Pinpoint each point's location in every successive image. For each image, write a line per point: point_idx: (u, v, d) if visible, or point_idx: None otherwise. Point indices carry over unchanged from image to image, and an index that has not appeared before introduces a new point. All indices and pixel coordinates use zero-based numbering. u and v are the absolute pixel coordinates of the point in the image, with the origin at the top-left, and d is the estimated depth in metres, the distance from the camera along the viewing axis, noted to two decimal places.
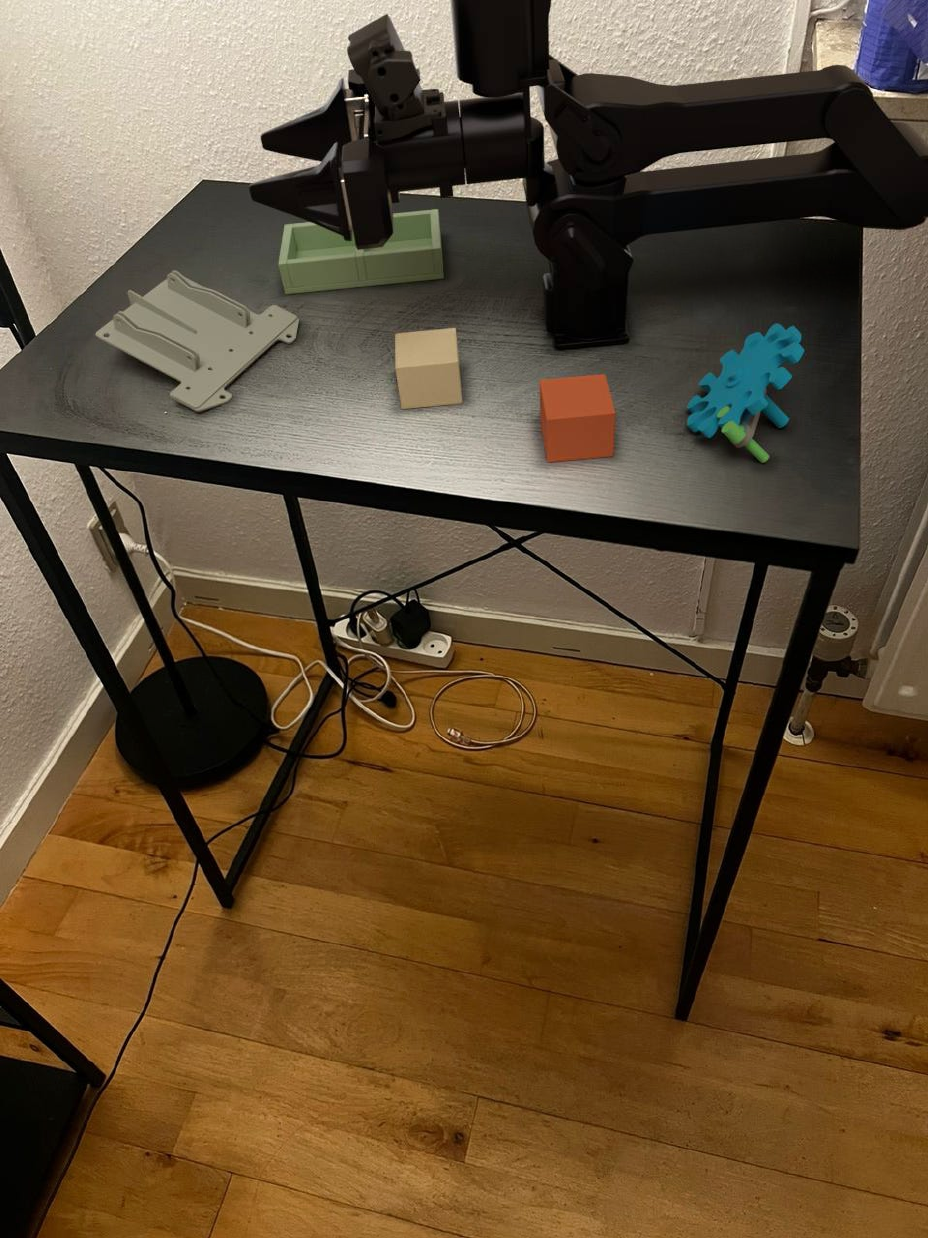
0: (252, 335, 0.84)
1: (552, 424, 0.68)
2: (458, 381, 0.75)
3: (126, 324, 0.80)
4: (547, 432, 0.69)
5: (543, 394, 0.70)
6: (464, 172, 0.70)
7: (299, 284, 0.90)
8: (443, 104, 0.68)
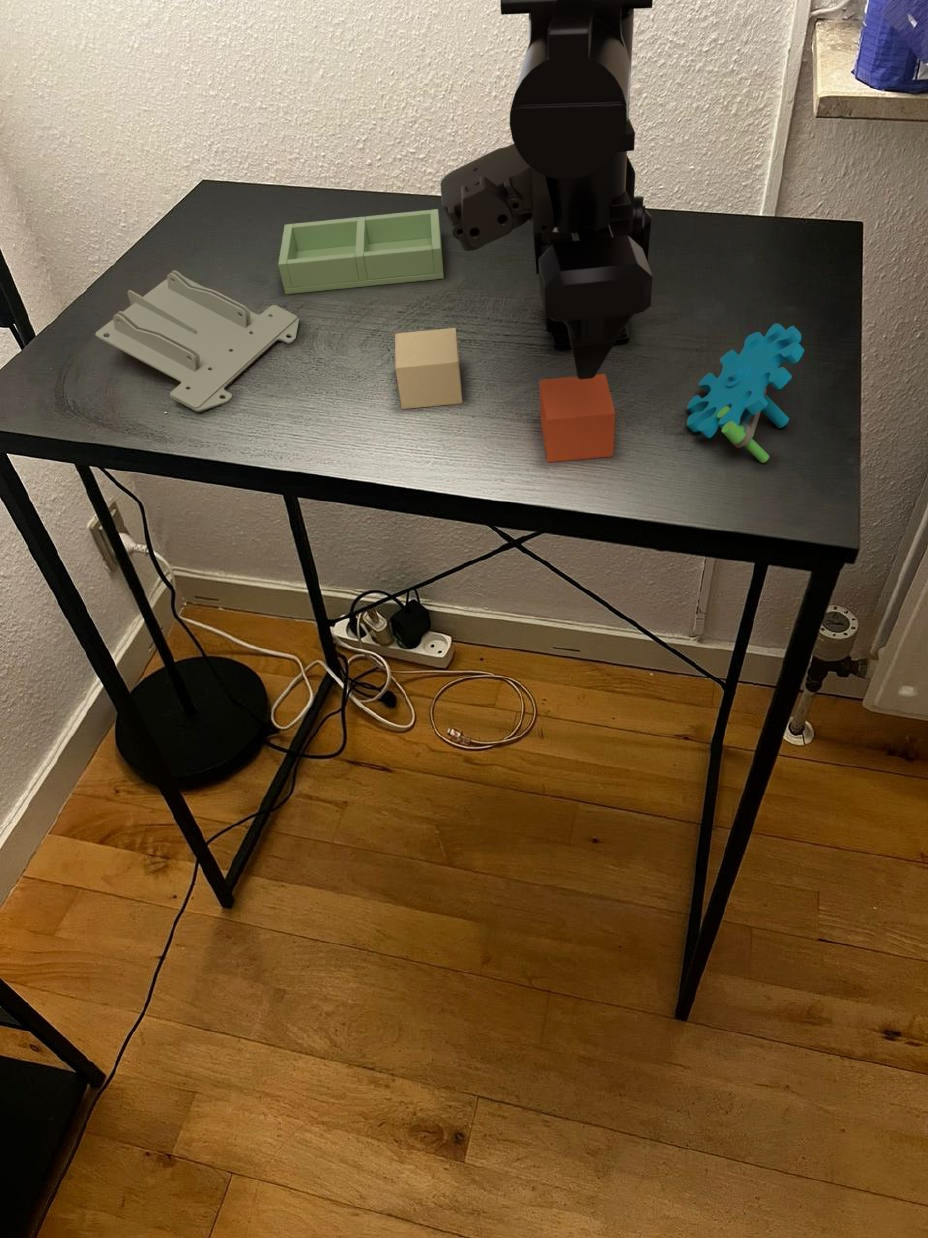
0: (252, 335, 0.84)
1: (552, 424, 0.68)
2: (458, 381, 0.75)
3: (126, 324, 0.80)
4: (547, 432, 0.69)
5: (543, 394, 0.70)
6: None
7: (299, 284, 0.90)
8: None
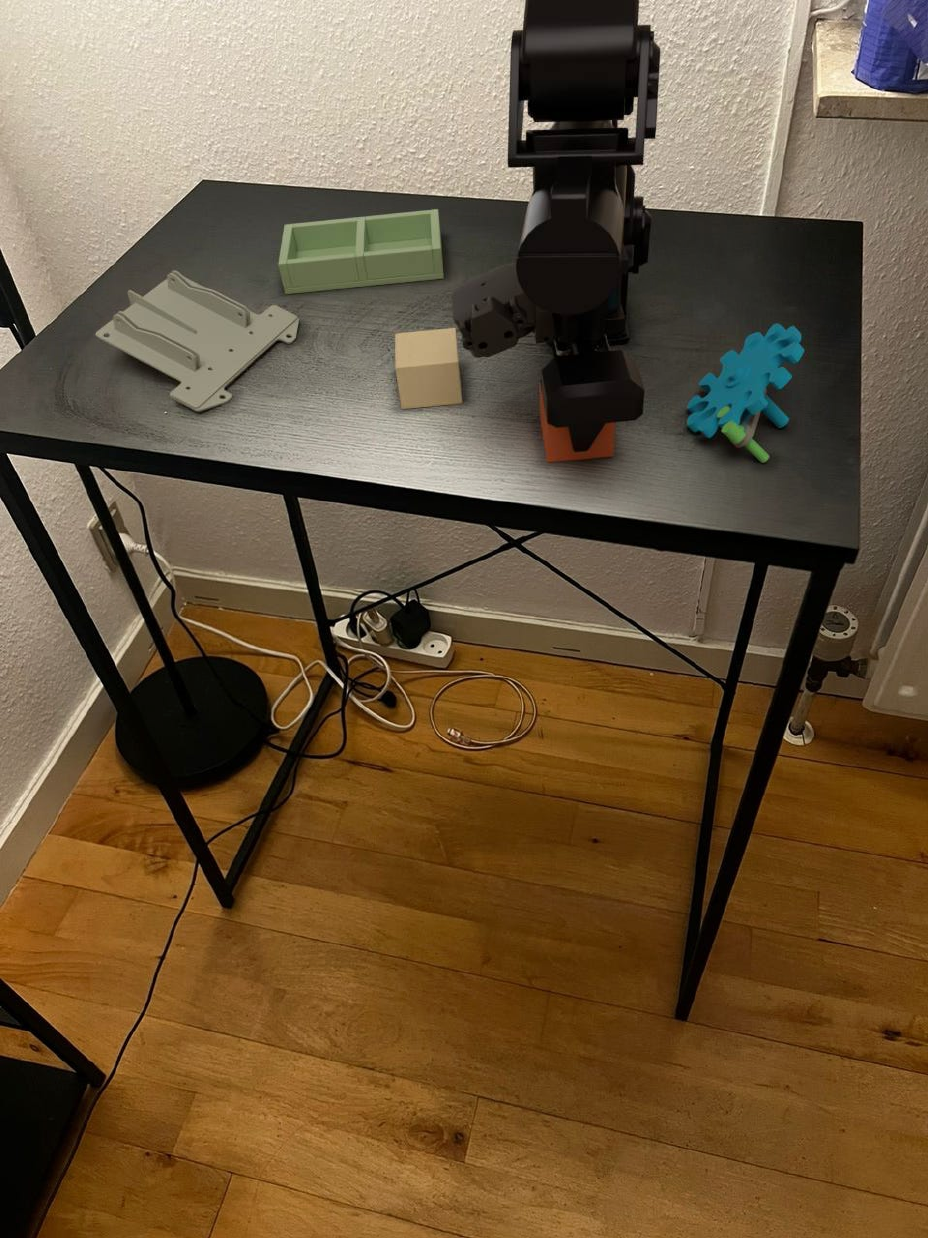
0: (252, 335, 0.84)
1: None
2: (458, 381, 0.75)
3: (126, 324, 0.80)
4: (547, 432, 0.69)
5: None
6: None
7: (299, 284, 0.90)
8: None
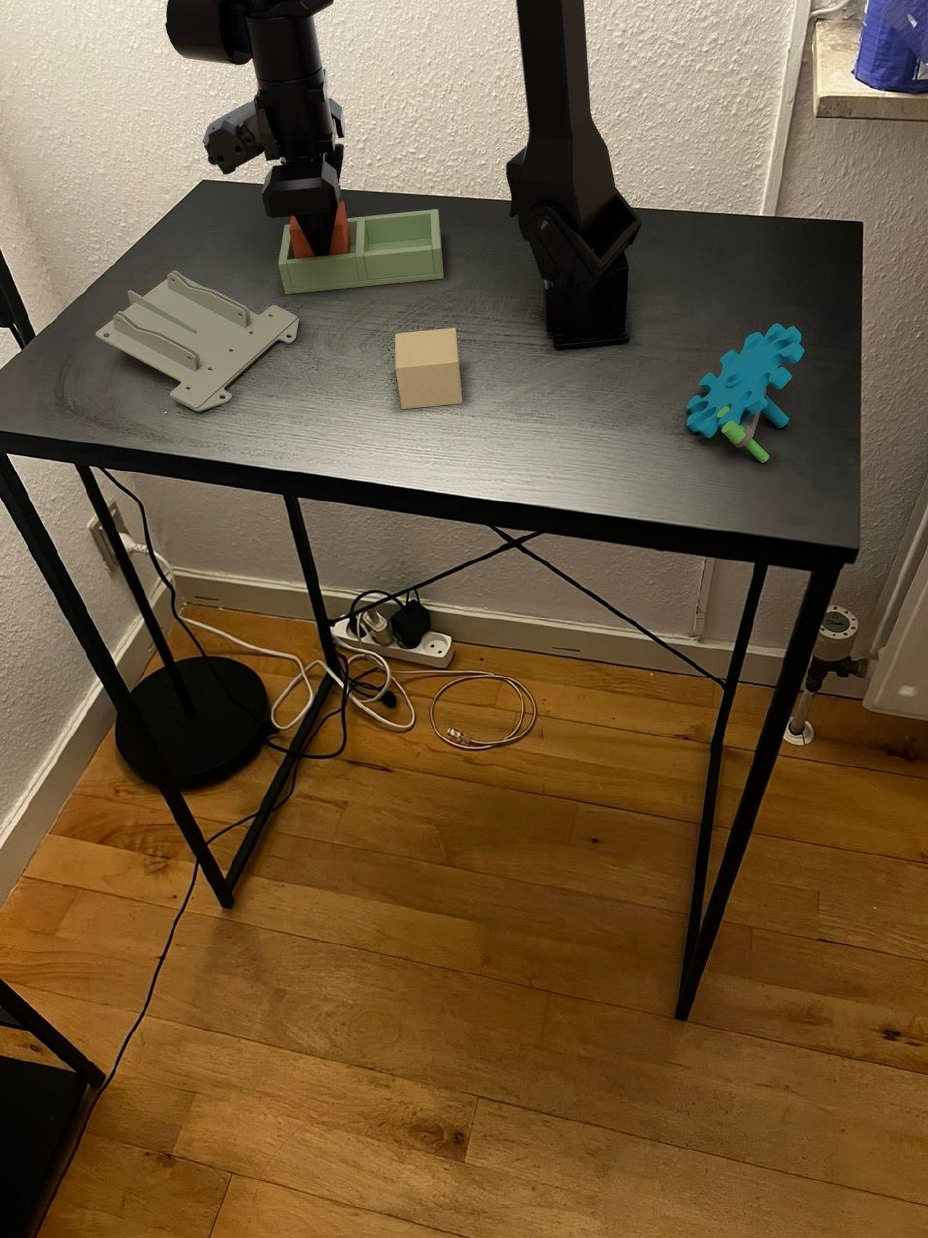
0: (252, 335, 0.84)
1: (294, 234, 0.88)
2: (458, 381, 0.75)
3: (126, 324, 0.80)
4: (292, 242, 0.89)
5: None
6: (299, 79, 0.78)
7: (299, 284, 0.90)
8: (258, 87, 0.81)
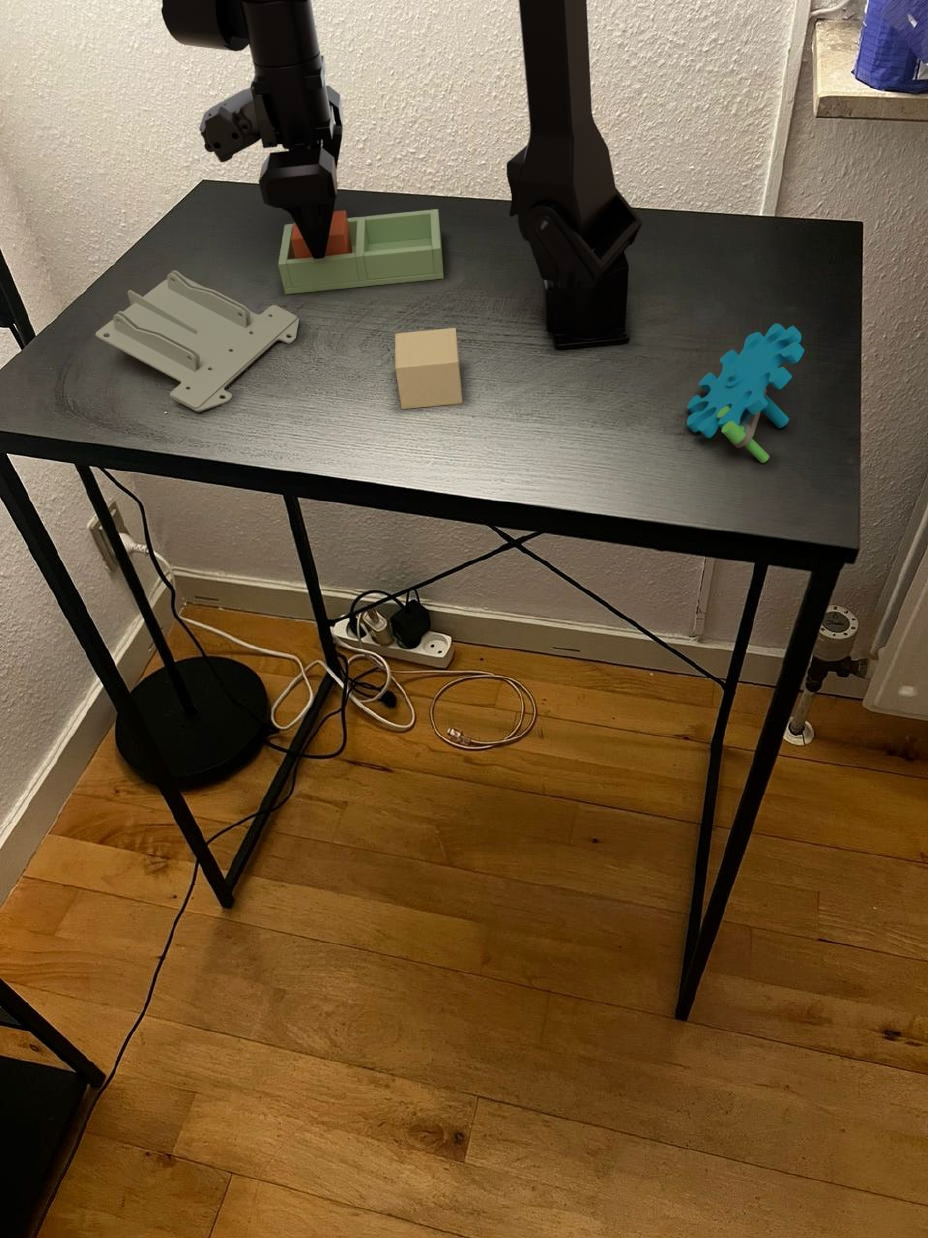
0: (252, 335, 0.84)
1: (296, 243, 0.89)
2: (458, 381, 0.75)
3: (126, 324, 0.80)
4: (294, 251, 0.89)
5: (294, 224, 0.90)
6: (297, 65, 0.77)
7: (299, 284, 0.90)
8: (255, 73, 0.80)
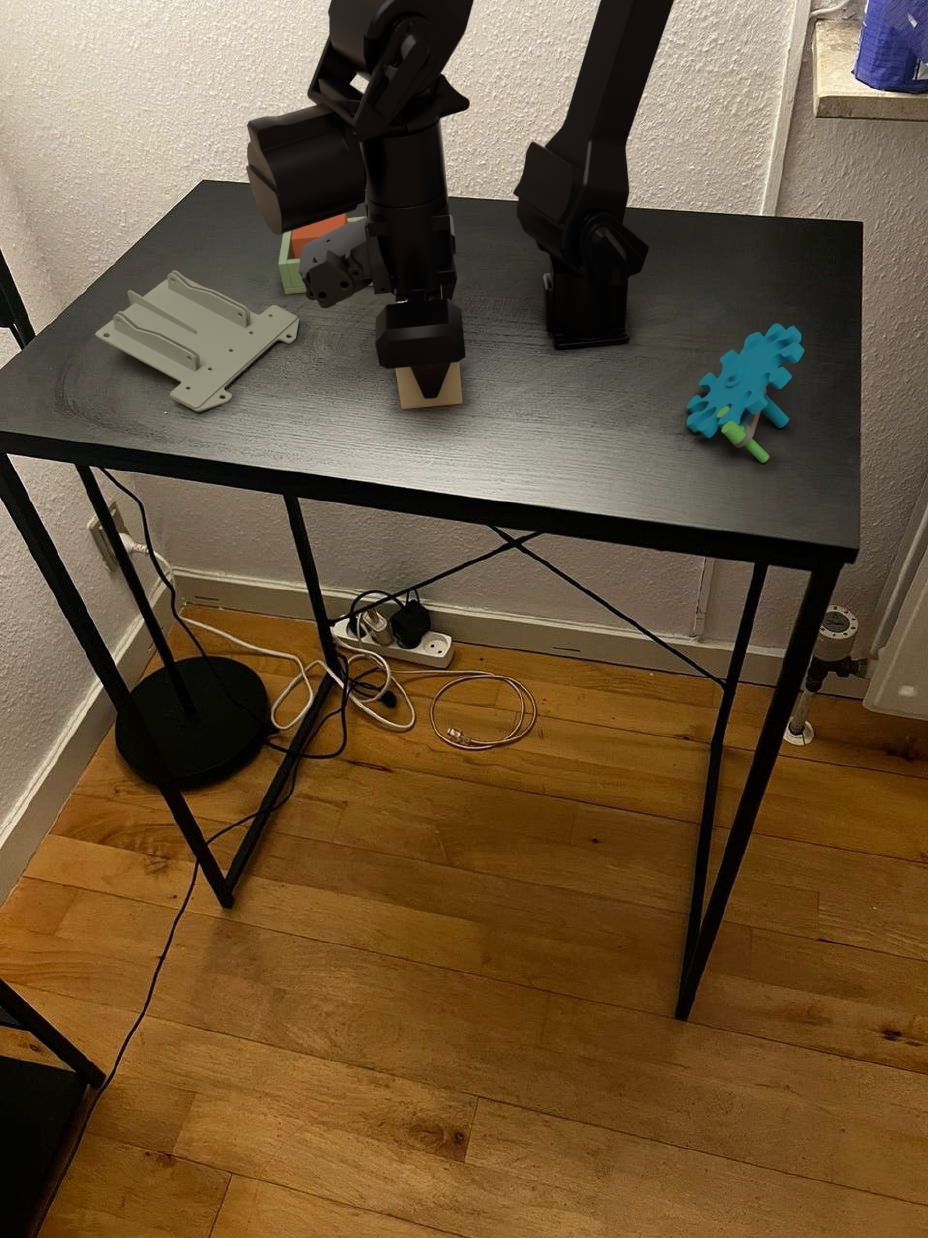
0: (252, 335, 0.84)
1: (296, 243, 0.89)
2: (458, 381, 0.75)
3: (126, 324, 0.80)
4: (294, 251, 0.89)
5: None
6: (422, 204, 0.64)
7: (299, 284, 0.90)
8: (368, 209, 0.67)
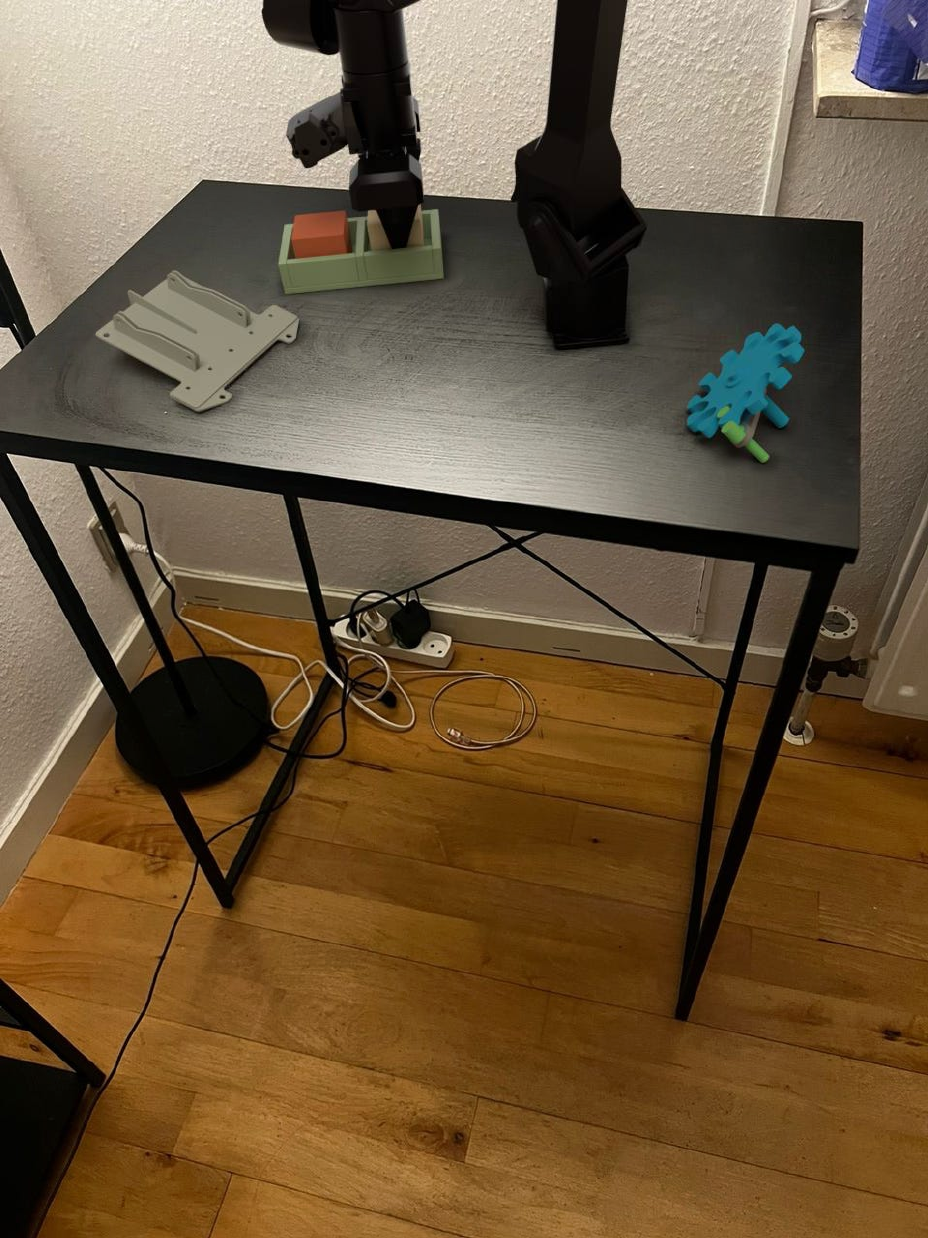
0: (252, 335, 0.84)
1: (296, 243, 0.89)
2: (421, 238, 0.89)
3: (126, 324, 0.80)
4: (294, 251, 0.89)
5: (294, 224, 0.90)
6: (387, 72, 0.78)
7: (299, 284, 0.90)
8: None
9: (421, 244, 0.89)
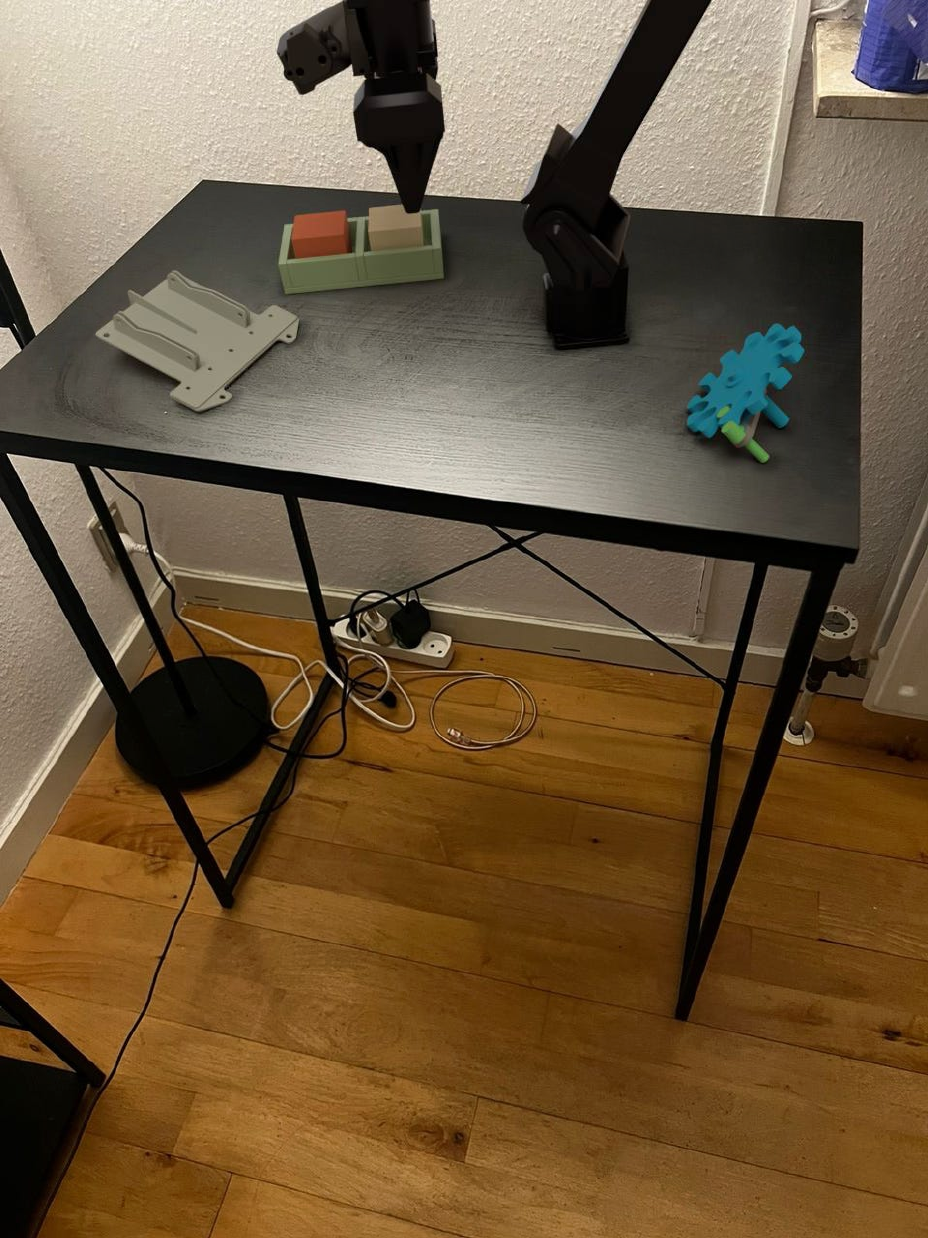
0: (252, 335, 0.84)
1: (296, 243, 0.89)
2: (421, 245, 0.89)
3: (126, 324, 0.80)
4: (294, 251, 0.89)
5: (294, 224, 0.90)
6: None
7: (299, 284, 0.90)
8: None
9: None
